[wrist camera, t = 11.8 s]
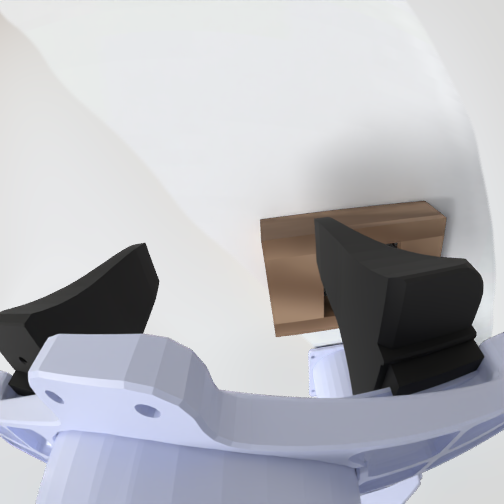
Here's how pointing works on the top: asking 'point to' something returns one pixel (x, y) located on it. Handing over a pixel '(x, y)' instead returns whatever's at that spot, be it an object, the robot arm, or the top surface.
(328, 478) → the robot arm
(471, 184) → the top surface
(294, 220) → the brown wooden hollow block
